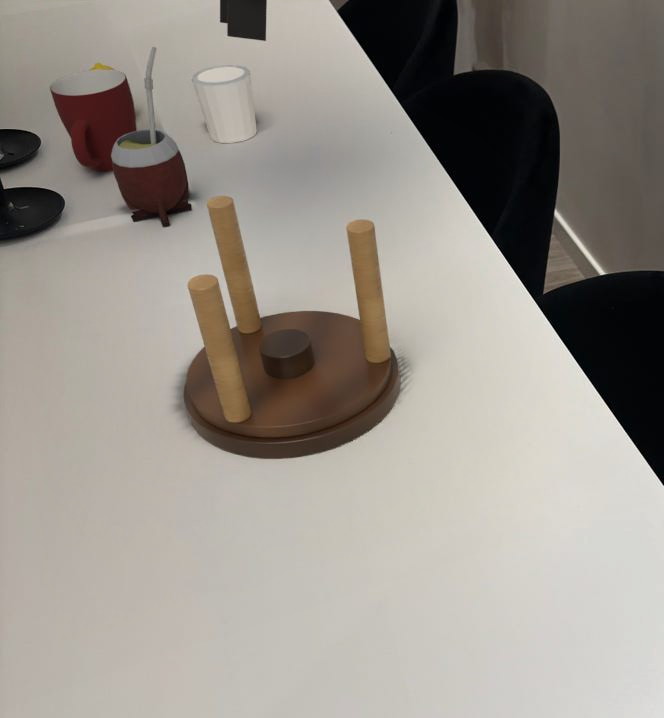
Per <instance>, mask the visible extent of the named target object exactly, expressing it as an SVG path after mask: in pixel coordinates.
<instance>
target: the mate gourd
mask: <svg viewBox="0 0 664 718" xmlns="http://www.w3.org/2000/svg"><path fill="white" fill-rule="evenodd" d="M156 52H157V47H155V46H152V47H151V50H150V52H149V57H148V60H147V62H146V63H147V64H146V70H145V78H144V79H143V81H144V89H145V90H146V92H145V93H146V102H147V113H148V123H149V129H141V130H137V131H134V132H131V133H128V134H125V135H123V136H122V137H120V138H118V140H117V141H116V142H115V144H114V146H113V149H112V153H111V157H112V167H113V175H114V179H115V181H116V183H117V186H118V189H119V192H120V194H121V197H122V199H123V200H124V202H125V204H126V206H127V207H128V208H129V210H130V211H131V210H133V211H131V213H132V214H131V215H130V218H131V219H132V222H134V223H135V222H141V221H146V220H151V219H157V218H158V219H159V220H160V223H161V226H162V228H167V227H170V226H171V221H170V219H169V216H171V215H175V214H180V213H186V212H190V211H192V210H193V205H192V203H190V202H189V200H186V199H189V193H190V191H189V188H190V186H189V179H188V173H187V168H186V163H185V161H184V158H183V155H182V153H181V151H180V149H179V147H178V145H177V142H176V141H175V140H174V139H173V138H172V137H171V136H169V134H167V133H166V132H164V131H162V130H158V129H156V120H155V108H154V98H153V97H154V96H153V90H154V79H153V78H152V74H153V67H154V63H155V59H156ZM183 200H184V201H183ZM138 209H139V210H138Z"/></svg>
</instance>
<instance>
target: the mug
mask: <svg viewBox="0 0 664 718" xmlns="http://www.w3.org/2000/svg"><path fill="white" fill-rule="evenodd" d="M49 90H50V93H51V97H52V100H53V103H54V106H55V109H56V112H57V114H58V116H59V119H60V121H61V122H62V124H63V126H64V128H65V131H66V133H67V134H68V136H69V138H70V139H71V140H70V142H71V147H72V148H71V149H72V151H73V154H74V156H75V159H76V160H77V162H78V163H79V164H80V165H82V166H83V167H86V168H90V169H92V170H93V171H97V172H112V171H113V167H112V157H111V153H112V149H113V146H114V144H115V142H116V141H117V140H118V138H120V137H122V136H123V135H125V134H128V133H131V132H134V131H138V128H137V119H136V110H135V102H134V98H133V95H132V91H131V88H130V84H129V81H128V78H127V75H126V73H124V72H122V71H120V70H116V69H115V70H109V69H97V70H90V69H88V70H82V71H77V72H74V73H73V72H72V73H71V74H67V75H65V76H62V77H60V78H58V79H56V80H55V81H53V82H52V83H51V85H50V86H49ZM113 172H114V171H113Z"/></svg>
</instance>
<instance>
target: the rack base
mask: <svg viewBox="0 0 664 718" xmlns="http://www.w3.org/2000/svg"><path fill="white" fill-rule="evenodd" d="M390 353H391V361H392V372H391V377H390V380H389V382H388V384H387V386H386V388H385V389H384V391H383V392H382V394H381V395H380V396H379V397H378V398H377V399H376V400H375V401H374V402H373V403H372V404H371V405H370V406H368V407H367V408H366V409H365V410H363V411H362V412H360V413H359V414H357V415H356V416H354V417H352V418H350V419H348V420H346V421H344V422H342V423H339V424H337V425H334V426H332V427H329V428H326V429H323V430H320V431H316V432H312V433H308V434H303V435H296V436H290V437H276V438H272V437H252V436H245V435H240V434H235V433H232V432H228V431H225V430H223V429H220V428H218V427H216V426H214V425H212V424H211V423H209V422H208V421H206V420H205V419H204V418H203V417H201V416H200V415H199V414H198V412H197V411H196V410H195V408H194V407H193V405H192V402H191V400H190V397H189V394H188V390H187V385H186V382H185V383H184V386H183V402H184V406H185V409H186V413H187V417H188V419H189V421H190V423H191V426H192V427H193V429H194V430H195V432H196V433H197V434H198V435H199V436H200V437H201V438H202V439H204V440H205V441H206V442H207V443H209V444H211V445H212V446H214V447H215V448H218V449H220V450H222V451H225V452H228V453H231V454H235V455H239V456H243V457H248V458H256V459H273V460H274V459H290V458H291V459H292V458H298V457H299V458H300V457H306V456H310V455H314V454H320V453H323V452H326V451H330V450H333V449H335V448H339V447H340V446H343V445H345V444H348V443H350V442H352V441H354V440H356V439H357V438H359V437H361V436H363V435H364V434H366V433H368V432H369V431H370V430H372V429H374V428H375V427H376V426H377V425H378V424H379V423H380V422H382V421H383V420H384V418H385V417H387V415H388V414H389V413H390V411H391V410H392V408H393V407H394V405H395V403H397V402H396V401H397V399H398V397H399V393H400V389H401V375H400V366H399V362H398V358H397V356H396V353H395V351H394V350H393V348H392V347H391V346H390Z"/></svg>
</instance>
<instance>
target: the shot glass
mask: <svg viewBox="0 0 664 718" xmlns="http://www.w3.org/2000/svg"><path fill="white" fill-rule="evenodd" d="M191 83H192V87H193V89H194V92H195V95H196V98H197V102H198V104H199V107H200V111H201V113H202V116H203V120H204V122H205V125H206V129H207V132H208V134H209V138H210V139H211V140H212V141H213V142H216V143H220V144H233V143H235V144H236V143H240V142H244V141H247V140H250V139H251V138H253V137H254V136H255V135H256V134H257V132H258V131H257V122H256V114H255V113H256V112H255V103H254V93H253V85H252V75H251V70H250V69H249V68H248V67H246V66H242V65H233V64H225V65H216V66H211V67H207V68H203V69H201V70H199V71H197V72H196V73H194V74H193V75H192V76H191Z"/></svg>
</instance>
